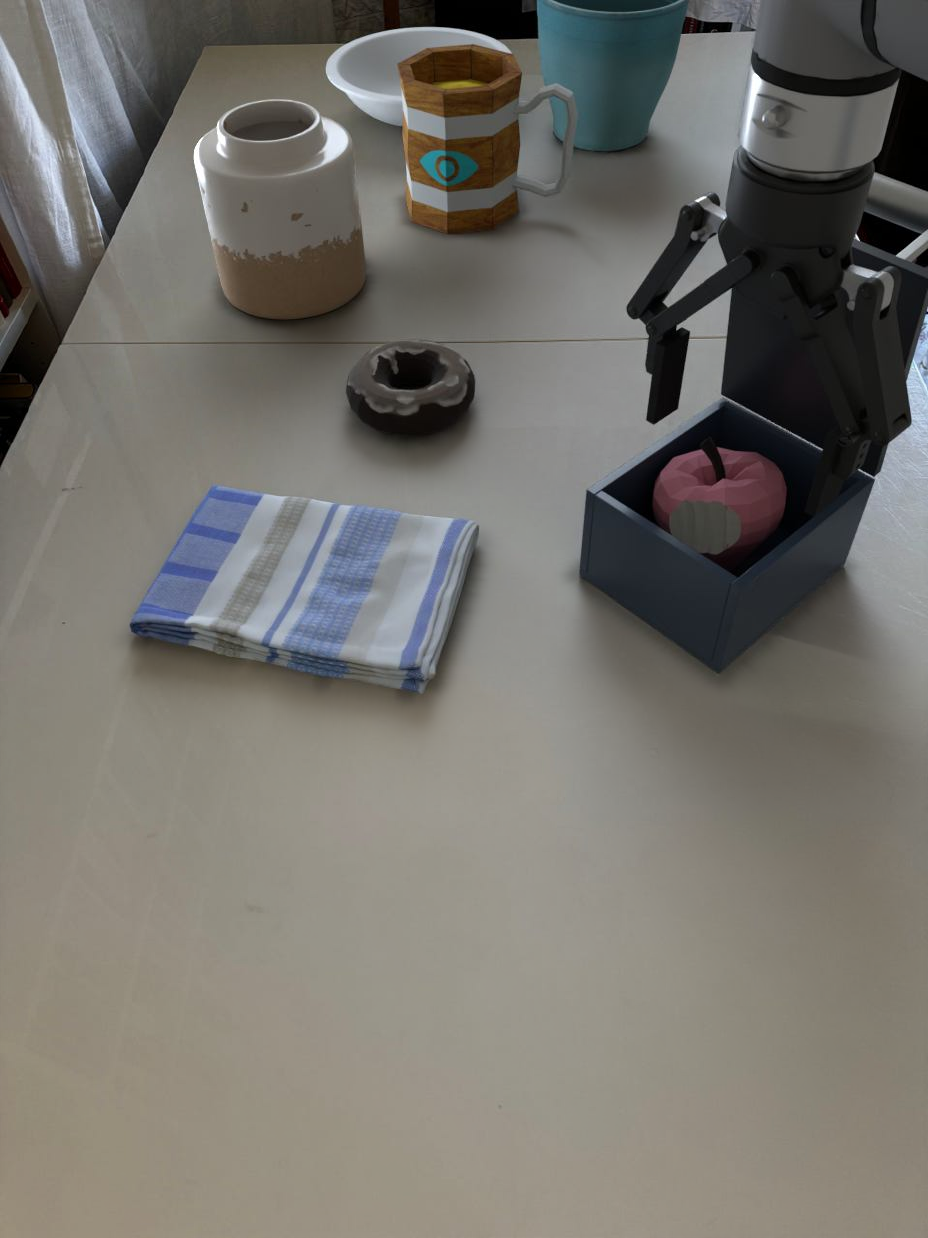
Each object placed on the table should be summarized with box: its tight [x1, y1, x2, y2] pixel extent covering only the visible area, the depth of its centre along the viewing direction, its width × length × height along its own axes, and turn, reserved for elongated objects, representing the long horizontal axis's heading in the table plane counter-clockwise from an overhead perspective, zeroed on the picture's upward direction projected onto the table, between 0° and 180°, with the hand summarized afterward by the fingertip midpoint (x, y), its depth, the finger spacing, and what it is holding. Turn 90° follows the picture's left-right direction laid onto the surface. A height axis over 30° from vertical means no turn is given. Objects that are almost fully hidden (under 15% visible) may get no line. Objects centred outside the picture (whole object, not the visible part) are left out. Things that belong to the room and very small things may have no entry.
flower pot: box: [536, 0, 690, 152], centre depth 126 cm, size 18×18×17 cm
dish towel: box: [129, 484, 480, 695], centre depth 79 cm, size 17×24×3 cm
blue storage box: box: [578, 397, 876, 674], centre depth 77 cm, size 16×14×9 cm
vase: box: [193, 98, 367, 320], centre depth 104 cm, size 15×15×17 cm
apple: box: [652, 437, 787, 570], centre depth 76 cm, size 10×9×10 cm
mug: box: [397, 44, 578, 235], centre depth 114 cm, size 20×14×15 cm
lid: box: [720, 172, 928, 478], centre depth 72 cm, size 16×14×10 cm
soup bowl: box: [325, 26, 513, 127], centre depth 134 cm, size 24×24×7 cm
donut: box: [345, 338, 476, 437], centre depth 94 cm, size 12×12×4 cm
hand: (737, 458), depth 72 cm, fingers open, 13 cm apart
